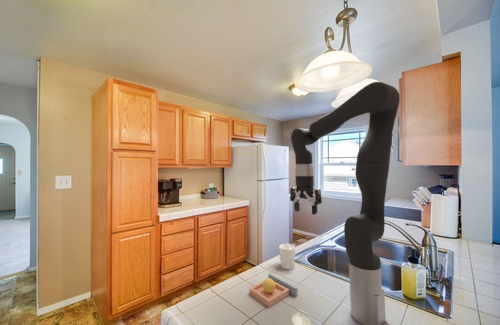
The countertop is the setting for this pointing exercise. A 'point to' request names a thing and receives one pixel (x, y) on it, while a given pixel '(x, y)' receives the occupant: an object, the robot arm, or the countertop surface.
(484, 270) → the countertop surface
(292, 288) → the fence
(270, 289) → the ball
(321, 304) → the countertop surface
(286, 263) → the white cup
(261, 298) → the pink square tray
